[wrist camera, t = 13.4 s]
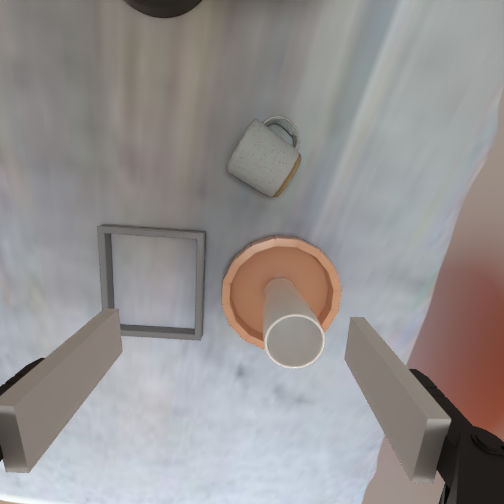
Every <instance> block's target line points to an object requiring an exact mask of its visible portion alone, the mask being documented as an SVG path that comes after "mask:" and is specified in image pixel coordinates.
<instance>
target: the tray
mask: <svg viewBox="0 0 504 504" xmlns="http://www.w3.org/2000/svg"><path fill="white" fill-rule="evenodd" d="M97 230H98V248H99V265H100V282H101V299H102V310H103V309H105V308H109V309H114V293H113V272H112V251H111V234H125V235H139V236H154V237H169V238H184V239H197V265H196V305H195V329H187V328H170V327H154V326H137V325H120V330H121V336H135V337H152V338H168V339H185V340H201V338H202V335H203V306H204V275H205V244H206V232H203V231H188V230H174V229H159V228H144V227H130V226H115V225H100V226H97Z"/></svg>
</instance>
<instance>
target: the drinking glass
mask: <svg viewBox="0 0 504 504" xmlns="http://www.w3.org/2000/svg"><path fill="white" fill-rule="evenodd" d="M262 332H263V340H264V345H265V350H266V352H267V354H268V356H269V357H270V358H271V359H272V360H273V361H274V362H275V363H276V364H278V365H280V366H282V367H286V368H294V369H295V368H302V367H305V366H307V365H309V364H311V363H313V362H314V361H315V360H316V359H317V358H318V357H319V356H320V355H321V353H322V351H323V349H324V345H325V335H324V332H323V329H322V327H321V324H320V322H319V320H318V318H317V316H316V314H315V313H314V311H313V310H312V308H311V307H310V305H309V304H308V303H307V302H306V300H305V299H304V298H303V297H302V295H301V294H300V293H299V291H298V290H297V289H296V287H295V285H294V284H293V282H292V281H290V280H289V279H287V278H283V277H278V278H274V279H272V280H271V281H269V282H268V283H267V285H266V286H265V289H264V307H263V317H262Z"/></svg>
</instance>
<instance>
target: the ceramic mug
mask: <svg viewBox="0 0 504 504" xmlns="http://www.w3.org/2000/svg"><path fill="white" fill-rule="evenodd" d="M274 123H275V124H278V125H281V126H282V127H283V128H284V129H286V130H287V131H288V132H289V134H290V135H292V136H293V140H294V146H292V145H290V144H289V143H287V142H286V141H284V140H283V139H282V138H280V137H279V136H278V135H277V134H275V133H274V132H273V131H272V130H270V129H269V128H268V127H266V126H267V125H269V124H274ZM299 143H300V135H299V132H298V129H297V128H296V126H295V125H294V124H293V123H292V122H291V121H290V120H289V119H287V118H285V117H283V116H273V117H270V118H268V119H267V120H265V121H264V122H263V123H261V122H260V121H258V120H257V119H255V120H254V121H253V122H252V123H251V124H250V126H249V127H248V129H247V130H246V132H245V133H244V135H243V137H242V139H241V140H240V142H239V144H238V146H237V148H236V149H235V151H234V153H233V155H232V157H231V159H230V161H229V163H228V166H227V172H229V173H230V174H232V175H234V176H235V177H237V178H239V179H240V180H242V181H244V182H245V183H247V184H249V185H250V186H252V187H254V188H255V189H257V190H258V191H260V192H262V193H263V194H265V195H268V196H270V197H277V196H278V195H280V194H281V193H282V191H283V190H284V189H285V188H286V186H287V185H288V183H289V182H290V180H291V179H292V177H293V176H294V174H295V172H296V170H297V169H298V167H299V164H300V162H301V155H300V154H299V152H298V151H297V148H298V146H299Z"/></svg>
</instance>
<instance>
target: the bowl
mask: <svg viewBox="0 0 504 504" xmlns="http://www.w3.org/2000/svg"><path fill="white" fill-rule="evenodd" d="M278 277H283V278H287V279H289V280H290V281H292V282H293V284H294V285H295V287H296V289H297V290H298V291H299V293H300V294H301V295H302V297H303V298H304V299H305V300H306V302H307V303H308V304H309V305H310V307H311V308H312V310H313V311H314V313H315V314H316V316H317V318H318V320H319V322H320V324H321V327H322V329H323V332H326V330H327V329H328V328H329V326H330V324H331V323H332V321H333V320H334V318H335V316H336V315H337V313H338V312H337V311H338V310H339V304H340V297H341V291H342V290H341V286H340V282H339V279H338V275H337V271H336V269H335V267H334V266H333V265H332V263H331V262H330V261H329V260H328V258H327V257H326V256H325V255H324V254H323V252H322V251H321V250H319V249H318V248H317V247H316V246H314V245H312V244H310V243H308V242H306V241H304V240H302V239H300V238H298V237H294V236H279V235H274V236H273V235H272V236H269V237H266V238H263V239H260V240H257V241H254V242H252V243H250V244H249V245H248V246H246V247H245V248H244V249H243V250H242V251H241V252H239V253H238V254H237V255H236V256H235V257H234V258H233V260H232V262H231V264H230V266H229V268H228V270H227V272H226V274H225V277H224V280H223V287H222V307H223V309H224V312H225V315H226V317H227V320H228V322H229V324H230V326H231V327H232V328H233V329H234V330H235V331H236V332H237V333H238V334H239V335H240V336H241V337H242V338H243V339H244V340H245V341H247V342H249V343H251V344H254V345H256V346H258V347H260V348H263V349H265V345H264V340H263V332H262V317H263V307H264V289H265V286H266V285H267V283H268V282H269V281H271V280H272V279H274V278H278Z"/></svg>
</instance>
